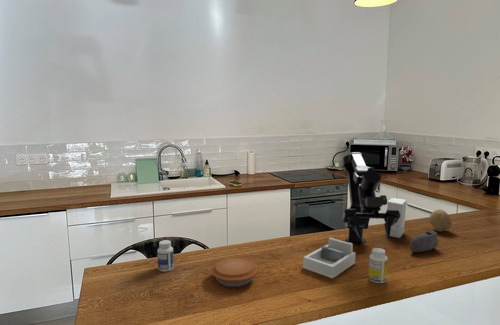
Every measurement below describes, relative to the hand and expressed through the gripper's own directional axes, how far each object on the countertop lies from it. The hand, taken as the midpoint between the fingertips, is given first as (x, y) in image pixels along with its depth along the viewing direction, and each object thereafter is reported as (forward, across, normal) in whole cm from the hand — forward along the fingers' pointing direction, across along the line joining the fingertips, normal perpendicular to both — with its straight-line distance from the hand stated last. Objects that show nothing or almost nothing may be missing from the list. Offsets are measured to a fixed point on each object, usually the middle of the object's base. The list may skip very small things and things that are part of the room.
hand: (374, 238), depth 118 cm
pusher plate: (+4, -13, +11) cm, 18 cm away
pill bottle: (+11, -72, +6) cm, 73 cm away
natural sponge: (-23, +41, +40) cm, 62 cm away
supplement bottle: (+13, 0, +5) cm, 13 cm away
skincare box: (-19, +20, +36) cm, 45 cm away
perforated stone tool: (-6, +24, +23) cm, 34 cm away
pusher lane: (+6, -14, +11) cm, 19 cm away
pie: (+15, -47, +3) cm, 49 cm away
